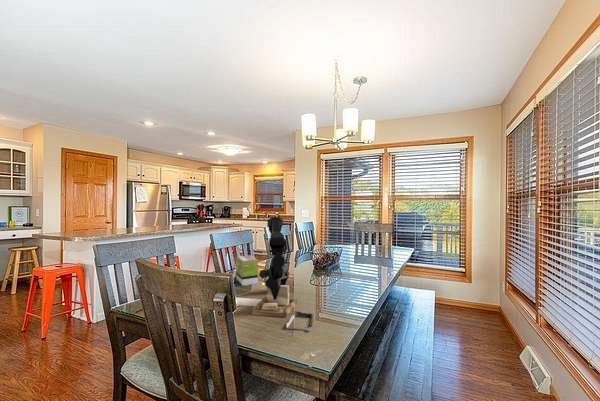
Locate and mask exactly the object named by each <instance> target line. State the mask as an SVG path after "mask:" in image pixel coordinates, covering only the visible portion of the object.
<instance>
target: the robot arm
mask: <svg viewBox="0 0 600 401" xmlns="http://www.w3.org/2000/svg"><path fill="white" fill-rule="evenodd" d="M266 223H267V224H266V225H267V228H268V232H269V233H270V238H269V239H268V246H269V247H268V250H269V251H268V253H270V256H271V259H270V260H271V263H270V266H269V268H267V269H262V270H259V272H258V277H260V279H261V280H263V279H265V278H267V277H268V278H267V279H266V280H265V281H264V286H265V287H266V288H267V287H268V288H270V289H271V292H272V295H273V298H274V300H276V299H277V296H278V293H279V289H280V286H281V285H287V282H288V280H289V278H290V272H289V270H285V267H286V259H285V256H284V255H285V254H284V253H286V252H287V251H288V243H287V240H286V238H285V236H284V234H283V233H282V232H281V231H282V228H283V227H284V219H283V218H281V217H279V216H272V217H270V218H268V219H267V222H266Z"/></svg>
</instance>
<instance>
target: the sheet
mask: <svg viewBox="0 0 600 401" xmlns="http://www.w3.org/2000/svg"><path fill="white" fill-rule="evenodd" d="M266 297H267V301H266V303H277V306H285V307H286V306H288V307H289V306H290V303H289V299H290V285H287V284H286V285H281V286H280V289H279V293H278V296H277V299H276V300H274V298H273V295H272V292H271V289H270V288H268V287H267V286H266Z"/></svg>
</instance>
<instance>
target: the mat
mask: <svg viewBox="0 0 600 401" xmlns="http://www.w3.org/2000/svg"><path fill="white" fill-rule="evenodd" d="M236 298H237V305H236V306H245V307H255V306H256V305H257V304H258V303H259V302H260V301H261V300H262V299H263V298H262V299H259V298H245V297H236ZM238 299H239V300H238Z"/></svg>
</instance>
